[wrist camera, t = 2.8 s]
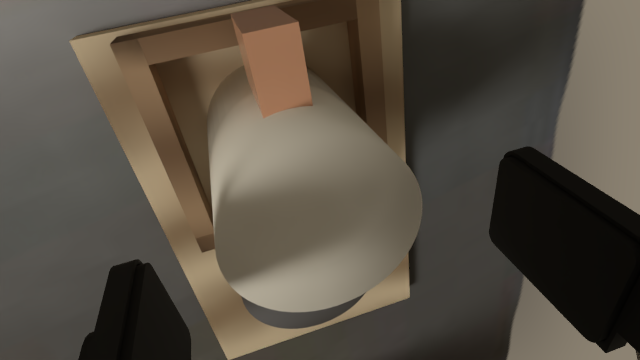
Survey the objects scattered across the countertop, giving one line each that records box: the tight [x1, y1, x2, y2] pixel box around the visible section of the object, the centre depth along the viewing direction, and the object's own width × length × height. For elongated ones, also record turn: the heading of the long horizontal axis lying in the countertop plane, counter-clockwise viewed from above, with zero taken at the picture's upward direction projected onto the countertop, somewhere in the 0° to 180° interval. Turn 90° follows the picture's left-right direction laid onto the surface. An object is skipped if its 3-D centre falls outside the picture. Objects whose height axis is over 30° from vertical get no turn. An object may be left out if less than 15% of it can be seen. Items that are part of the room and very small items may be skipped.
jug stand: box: [70, 0, 410, 360], centre depth 22 cm, size 22×14×2 cm, turn 9°
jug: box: [207, 5, 423, 312], centre depth 14 cm, size 9×6×9 cm
